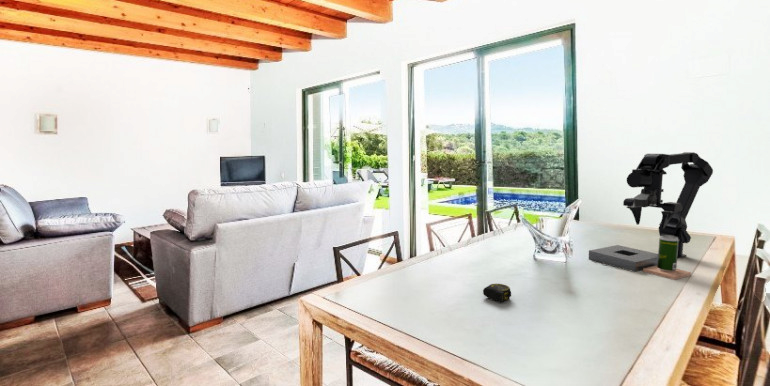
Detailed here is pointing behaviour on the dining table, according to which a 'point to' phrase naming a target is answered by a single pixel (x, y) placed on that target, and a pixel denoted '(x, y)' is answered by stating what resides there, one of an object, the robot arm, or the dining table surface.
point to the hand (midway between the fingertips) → (649, 226)
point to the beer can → (667, 253)
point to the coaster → (671, 275)
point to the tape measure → (497, 292)
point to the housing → (624, 257)
